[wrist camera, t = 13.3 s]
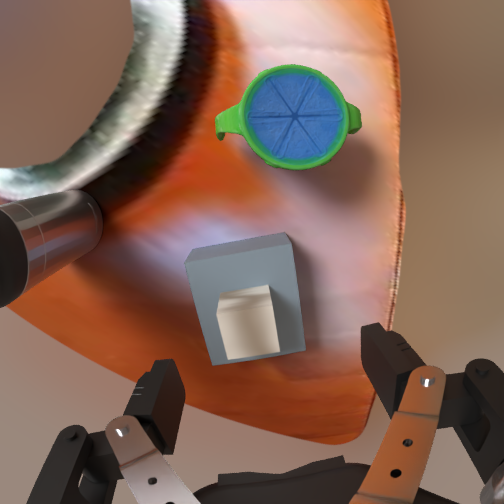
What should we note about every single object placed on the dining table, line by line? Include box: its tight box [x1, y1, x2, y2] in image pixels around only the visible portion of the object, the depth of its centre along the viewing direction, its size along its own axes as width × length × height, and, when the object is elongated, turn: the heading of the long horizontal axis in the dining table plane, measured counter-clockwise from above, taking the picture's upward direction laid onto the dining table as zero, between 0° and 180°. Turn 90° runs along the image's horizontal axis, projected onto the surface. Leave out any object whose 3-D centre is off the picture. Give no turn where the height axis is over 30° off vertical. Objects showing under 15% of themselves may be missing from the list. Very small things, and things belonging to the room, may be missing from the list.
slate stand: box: [184, 232, 306, 365], centre depth 39 cm, size 12×14×6 cm
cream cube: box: [216, 285, 280, 360], centre depth 33 cm, size 6×6×6 cm
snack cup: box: [215, 64, 362, 170], centre depth 31 cm, size 16×10×10 cm
